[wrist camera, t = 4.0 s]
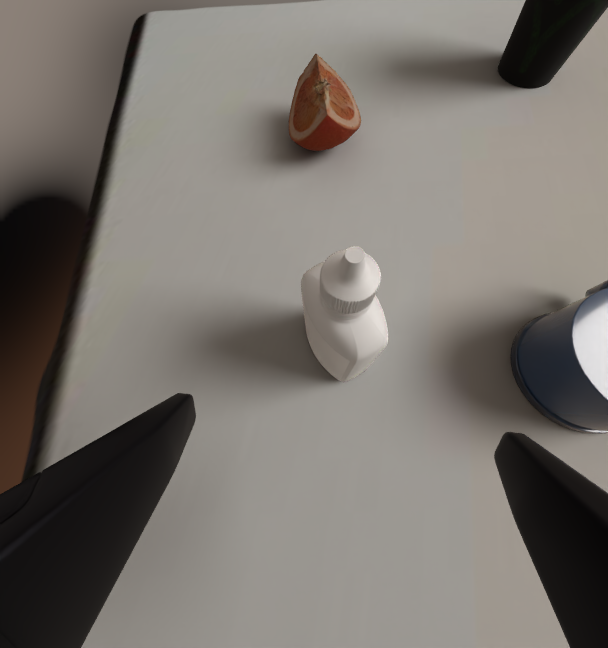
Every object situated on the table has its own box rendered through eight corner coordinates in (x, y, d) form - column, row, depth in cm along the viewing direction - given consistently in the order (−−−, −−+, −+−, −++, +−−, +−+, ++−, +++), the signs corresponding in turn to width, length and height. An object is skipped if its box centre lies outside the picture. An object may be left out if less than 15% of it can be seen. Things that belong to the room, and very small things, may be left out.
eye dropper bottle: (305, 383, 20) (291, 332, 9) (305, 310, 22) (293, 192, 11) (367, 383, 20) (430, 330, 9) (361, 309, 22) (408, 189, 11)
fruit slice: (287, 112, 30) (281, 53, 25) (351, 105, 30) (357, 45, 25) (292, 172, 27) (287, 119, 22) (363, 165, 27) (372, 110, 22)
